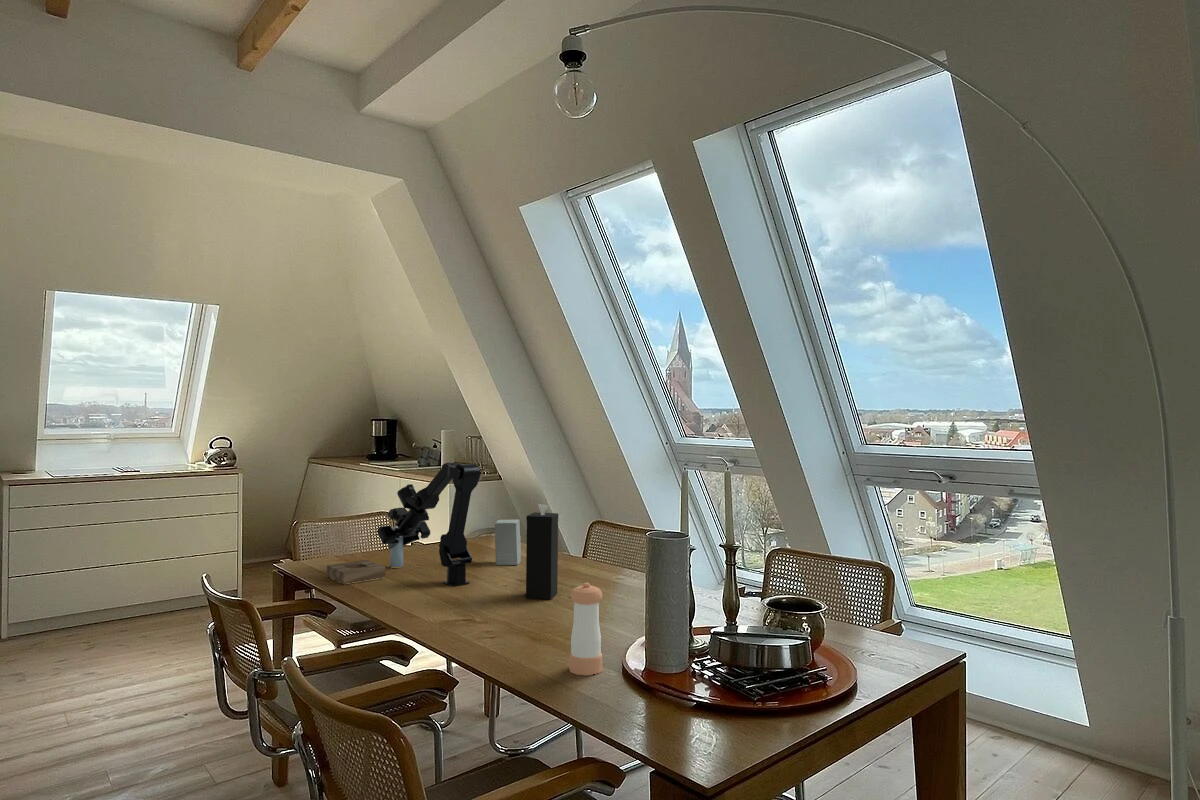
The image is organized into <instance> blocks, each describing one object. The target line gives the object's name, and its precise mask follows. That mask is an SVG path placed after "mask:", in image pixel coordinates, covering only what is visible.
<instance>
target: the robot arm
mask: <svg viewBox="0 0 1200 800" xmlns="http://www.w3.org/2000/svg"><path fill="white" fill-rule="evenodd" d="M481 473H482V472H481V469H480V467H479V465H477V464H476V463H464V464H463V463H458V462H445V463H443V464H442V465H441V468H440V469H439V471H438V472H437V474H435V476H434V477H433V479H432V480H430V482H429V484H428V485H427V486H426V487H424V488H422V489H420V490H418V491H416V490H415V487H414V484H413V483H412V484H411V483H410V484H406V486H404V487H402V488H401V489H399V490H398V491H397V492H396V494H397V497H398V499H399V500H400V502H401V504H402V507H396V508H390V509H389V511H388V513H387V516H388V519H389V518H390V520H394V521H395V523H394V524H395V527H398V528H395V530H393V529H392V528H391V527H392V526H391V525H382V526H381V525H380V526H379V527H378V529H377V530H376V532H377V534H378V537H379V539H380V540H381V542H382V544H384V545H387V547H388V549H389V550H390V548H392V547H393V546H395V545H396V544H398V543H399V542H398V540H397V539H398V538H399V537H402V536H403V547H405V546H407V545H409V544H411V543H414V542H416V541H419V540H420V538H421V540H422V539H428V538H429V537H430V535H431V530H430V527H429V526H428V524H427V522H426V521H429V520H430V516H429V513H428V511H427V510H431V509H435V508H436V507H437V505H438V503H439V502H440V495H441V493H442V492H443V491H444V489H445V488H446V487H447V486H448V485H449V484H450V483H451V481H452V484H453V486H454V488H455V492H454V499H453V503H452V504H453V505H452V508H451V509H452V510H451V515H450V521H449V525H448V526H449V527H448V531H447V533H444V534H441V536H440V541H439V544H438V547H439V550H438V554H439V559H440V563H441V566H443V567H444V568H445V567H447V568H446V580H443V581H442V583H443V584H445V583H446V585H448V586H450V585H451V587H457V586H463V585H469V584H470V583H471V582H470V581H468V580H467V579H466V578H467V577H466V576H467V573H466V572H467V571H466V569H467V566H466V565H467V564H472V562H473V556H472V554H471V552H470V551H469V549H468V547H467V545H468V540H467V539H466V536H465V529H466V523H467V517H468V512H469V506H470V501H471V497H472V495H471V494H472V492H473V491H474V489H476V488H477V485H479V480H480V478H481V475H482V474H481ZM407 509H408V510H407Z"/></svg>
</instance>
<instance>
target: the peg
mask: <svg viewBox="0 0 1200 800" xmlns="http://www.w3.org/2000/svg"><path fill="white" fill-rule="evenodd" d="M391 528H392V529H393V530H395V528H398V526H391ZM397 540H398V542H399V543H398V544H396V545H395V546H393V547H392V548H390V549H389V550H390V551H389V552H390V553H389V554H390V555H389V557H390V558H389V561H390V562H389V564H390V565H389V566H391V567H402V566H403V567H404V546H403V536H402V537H399V538H398V539H397Z"/></svg>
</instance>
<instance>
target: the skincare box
mask: <svg viewBox="0 0 1200 800" xmlns="http://www.w3.org/2000/svg"><path fill="white" fill-rule="evenodd" d="M520 522H521V521H520V519H498V520H496V522H494V544H495V545H494V546H495V547H494V548H495V549H494V550H495V565H496V566H518V565H519V564H520V563H521V561H522V555H521V554H522V553H521V526H520V525H521V524H520Z"/></svg>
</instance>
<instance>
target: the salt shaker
mask: <svg viewBox="0 0 1200 800" xmlns="http://www.w3.org/2000/svg"><path fill="white" fill-rule="evenodd" d="M602 598H603V592H602V591H601V589H600V588H599V587H597V586H595V585H591V584H590V583H589V582H584V583H583V584H582V585H578V586H576V587H574V588H573V589H572V591H571V592H570V599H571V601H572V602H573V623H572V624H573V625H572V630H571V635H570V650H571V651H570V652H569V655H568V658H569V659H568V660H569V663H568V664H569V665H568V666H569V672H570V673H571V674H575V675H577V676H578V675H579V676H594V675H593V674H595V675H598V674H601V672H602V671H603V654H602V651H601V649H602V636H601V635H602V634H601V628H600V621H599V619H600V618H599V617H600V615H599V612H600V611H599V610H600V609H599V607H600V602H601V601H602ZM597 673H598V674H597Z"/></svg>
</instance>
